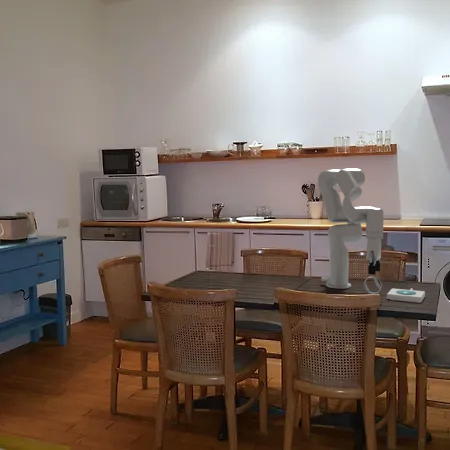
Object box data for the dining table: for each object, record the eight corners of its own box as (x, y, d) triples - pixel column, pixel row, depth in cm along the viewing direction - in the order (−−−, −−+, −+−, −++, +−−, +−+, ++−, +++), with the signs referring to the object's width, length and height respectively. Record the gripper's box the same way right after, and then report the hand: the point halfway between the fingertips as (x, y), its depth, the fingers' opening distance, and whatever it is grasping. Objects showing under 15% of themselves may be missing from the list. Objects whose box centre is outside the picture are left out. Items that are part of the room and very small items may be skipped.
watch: (380, 302, 261) (380, 278, 260) (362, 300, 265) (362, 277, 264) (382, 299, 266) (383, 276, 265) (365, 298, 270) (366, 274, 269)
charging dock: (386, 299, 267) (387, 293, 267) (396, 288, 288) (396, 283, 288) (420, 302, 260) (421, 296, 260) (427, 291, 282) (428, 286, 281)
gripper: (370, 233, 271) (370, 269, 273) (361, 236, 256) (361, 275, 257) (386, 233, 268) (386, 270, 269) (379, 237, 253) (378, 276, 254)
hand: (374, 272), depth 263 cm, fingers open, 9 cm apart
